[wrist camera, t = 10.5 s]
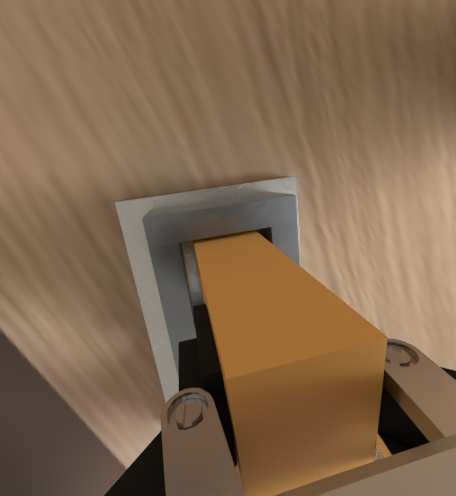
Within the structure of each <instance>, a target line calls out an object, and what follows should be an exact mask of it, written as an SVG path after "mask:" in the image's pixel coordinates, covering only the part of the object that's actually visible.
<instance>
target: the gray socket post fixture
mask: <svg viewBox="0 0 456 496" xmlns="http://www.w3.org/2000/svg"><path fill="white" fill-rule="evenodd" d="M115 206H116V210H117V213H118V217H119V221H120V225H121V229H122V233H123V237H124V241H125V245H126V249H127V253H128V257H129V261H130V265H131V269H132V272H133V276H134V280H135V284H136V288H137V292H138V296H139V300H140V304H141V308H142V312H143V316H144V320H145V324H146V327H147V331H148V335H149V339H150V343H151V347H152V351H153V355H154V359H155V363H156V367H157V371H158V375H159V379H160V382H161V386H162V390H163V394H164V398H165V402H166V403H167V401H168V400H169V399H170V398H171V397H172V396H173V395H175V394H176V393H178V392H179V354H178V345H179V342H181V341H185V340H189V339H194V338H197V337H196V329H195V320H194V312H193V306H195V305H200V304H204V302H203V296H202V290H201V285H200V279H199V273H198V268H197V262H196V256H195V251H194V245H193V240H198V239H203V238H209V237H215V236H221V235H227V234H232V233H238V232H244V231H250V230H256V231H257V232H258V233H259V234H261V235H262V236H263V237H264V238H265V239H267V240H268V241H269V242H270V243H272V244H273V245H274V246H275V247H277V248H278V249H279V250H280V251H282V252H283V253H284V254H285V255H287V256H288V257H289V258H290V259H291V260H293V261H294V262H295V263H296V264H298V265H299V266H300V267H301V250H300V231H299V212H298V193H297V176H293V177H282V178H275V179H268V180H261V181H254V182H247V183H240V184H233V185H226V186H219V187H212V188H205V189H198V190H191V191H184V192H177V193H170V194H163V195H156V196H150V197H143V198H136V199H129V200H122V201H118V202H115ZM235 469H236V472H237V475H238V478H239V481H240V477H239V472H238V467H237V465H236V467H235ZM240 485H241V482H240ZM241 488H242V486H241Z"/></svg>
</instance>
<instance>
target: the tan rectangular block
mask: <svg viewBox="0 0 456 496" xmlns="http://www.w3.org/2000/svg"><path fill="white" fill-rule="evenodd" d="M193 245H194V251H195V256H196V262H197V268H198V273H199V279H200V285H201V290H202V296H203V302H204V304H205V303H206V307H207V310H208V314H209V318H210V323H211V327H212V331H213V336H214V340H215V344H216V349H217V353H218V357H219V362H220V366H221V371H222V376H223V382H224V388H225V394H226V400H227V406H228V411H229V416H230V422H231V428H232V434H233V440H234V446H235V452H236V458H237V467H238V472H239V477H240V482H241V486H242V491H243V494H244V496H274V495H277V494H280V493H283V492H286V491H289V490H291V489H294V488H297V487H300V486H303V485H306V484H309V483H312V482H315V481H318V480H321V479H323V478H326V477H329V476H332V475H335V474H338V473H341V472H344V471H347V470H350V469H353V468H356V467H359V466H362V465H365V464H368V463H371V462H374V459H375V450H376V441H377V432H378V422H379V413H380V404H381V395H382V386H383V376H384V367H385V358H386V349H387V340H388V337H387V336H385V335H384V334H383V333H382V332H380V331H379V330H378V329H377V328H376V327H374V326H373V325H372V324H371V323H369V322H368V321H367V320H366V319H364V318H363V317H362V316H361V315H359V314H358V313H357V312H356V311H355V310H353V309H352V308H351V307H350V306H348V305H347V304H346V303H345V302H343V301H342V300H341V299H340V298H338V297H337V296H336V295H335V294H333V293H332V292H331V291H330V290H329V289H327V288H326V287H325V286H324V285H322V284H321V283H320V282H319V281H317V280H316V279H315V278H314V277H312V276H311V275H310V274H309V273H308V272H306V271H305V270H304V269H303V268H301V267H300V266H299V265H298V264H296V263H295V262H294V261H293V260H291V259H290V258H289V257H288V256H287V255H285V254H284V253H283V252H282V251H280V250H279V249H278V248H277V247H275V246H274V245H273V244H272V243H270V242H269V241H268V240H267V239H265V238H264V237H263V236H262V235H261V234H259V233H258V232H257V231H256V230H250V231H244V232H238V233H232V234H227V235H221V236H215V237H209V238H203V239H198V240H193Z"/></svg>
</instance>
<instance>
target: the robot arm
mask: <svg viewBox="0 0 456 496" xmlns="http://www.w3.org/2000/svg"><path fill="white" fill-rule="evenodd" d="M193 312H194V320H195V329H196V337H197V338H194V339H189V340H185V341H181V342H179V345H178V354H179V392H178V393H176V394H175V395H173V396H172V397H171V398H170V399H169V400H168V401H167V403H166V404H165V405H164V408H163V410H162V412H161V432H160V433H159V434H158V435H157V436H156V437H155V438H154V440H153V441H152V442H151V443H150V444H149V445H148V446H147V447H146V449H145V450H144V451H143V452H142V453H141V454H140V455H139V457H138V458H137V459H136V460H135V461H134V462H133V463H132V465H131V466H130V467H129V468H128V469H127V470H126V471H125V472H124V474H123V475H122V476H121V477H120V478H119V480H117V482H116V483H115V484H114V485H113V486H112V487H111V488H110V490H109V491H108V492H107V493H106V494H105V495H104V496H244V494H243V491H242V488H241V485H240V481H239V478H238V475H237V472H236V469H235V467H236V465H237V458H236V452H235V446H234V440H233V434H232V428H231V422H230V416H229V411H228V406H227V400H226V394H225V388H224V382H223V376H222V371H221V366H220V362H219V357H218V353H217V349H216V344H215V340H214V336H213V331H212V327H211V323H210V318H209V314H208V310H207V307H206V303H205V304H200V305H195V306H193ZM376 446H377V447H378V449H379V451H380V452H381V454H382V456H383V457H384V458H383V459H380V460H377V461H374V462H371V463H368V464H365V465H362V466H359V467H356V468H353V469H350V470H347V471H344V472H341V473H338V474H335V475H332V476H329V477H326V478H323V479H321V480H318V481H315V482H312V483H309V484H306V485H303V486H300V487H297V488H294V489H291V490H289V491H286V492H283V493H280V494H277V495H274V496H456V371H454V370H450V369H446V368H442V367H439V366H438V365H437V364H436V363H434V362H433V361H432V360H431V359H430V358H428V357H427V356H426V355H425V354H423V353H422V352H421V351H420V350H419V349H417V348H416V347H414V346H413V345H411V344H408V343H406V342H404V341H400V340H397V339H389V338H388V340H387V349H386V358H385V367H384V376H383V386H382V395H381V404H380V413H379V422H378V432H377V441H376Z"/></svg>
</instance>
